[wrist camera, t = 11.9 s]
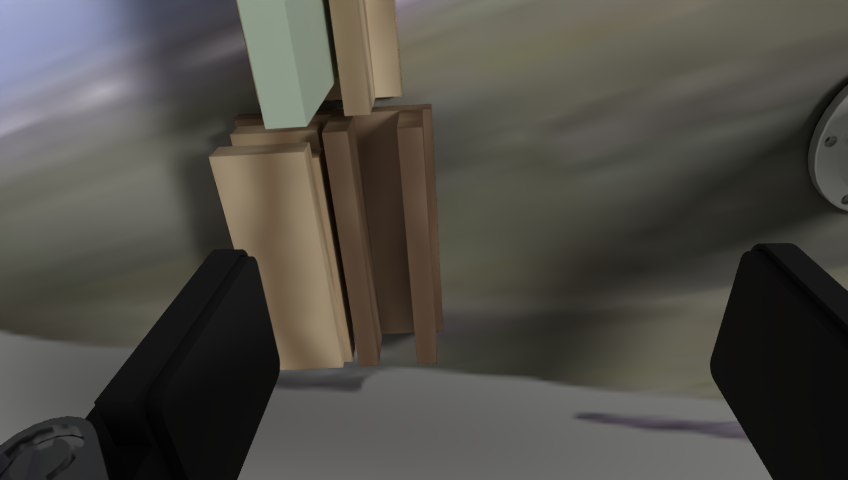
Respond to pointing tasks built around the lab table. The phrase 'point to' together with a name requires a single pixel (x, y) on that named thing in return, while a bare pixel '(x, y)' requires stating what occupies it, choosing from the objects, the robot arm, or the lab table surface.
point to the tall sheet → (290, 57)
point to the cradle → (363, 53)
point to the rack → (338, 230)
